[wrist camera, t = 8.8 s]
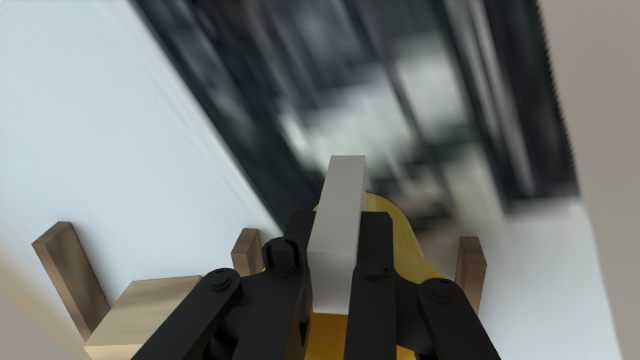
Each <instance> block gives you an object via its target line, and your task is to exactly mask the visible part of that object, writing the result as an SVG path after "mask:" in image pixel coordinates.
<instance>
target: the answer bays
mask: <svg viewBox="0 0 640 360" xmlns="http://www.w3.org/2000/svg"><path fill="white" fill-rule="evenodd" d="M32 246H33V248H34V250H35V252H36V254H37V255H38V257H39V259H40V261H41V263H42V265H43V266H44V268H45V270H46V272H47V274H48V276H49V277H50V279H51V281H52V283H53V285H54V287H55V288H56V290H57V292H58V294H59V296H60V298H61V299H62V301H63V303H64V305H65V307H66V309H67V310H68V312H69V314H70V316H71V318H72V320H73V322H74V323H75V325H76V327H77V329H78V331H79V333H80V334H81V336H82V338H83V340H84V342H85V343H86V341H87V340H88V339H89V337H90V336H91V335H92V333H93V332H94V331H95V329H96V328H97V327H98V325H99V324H100V323H101V322H102V320H103V319H104V318H105V316H106V315H107V314H108V312H109V311H110V310H111V309H110V307H109V305H108V303H107V301H106V299H105V296H104V294H103V292H102V290H101V288H100V286H99V284H98V281H97V279H96V277H95V275H94V273H93V271H92V269H91V266H90V264H89V262H88V260H87V258H86V256H85V254H84V251H83V249H82V247H81V245H80V243H79V241H78V239H77V236H76V234H75V232H74V230H73V228H72V226H71V224H70V222H57V223H56V224H55V225H53V226H52V227H51V228H50V229H49V230H47V231H46V232H45V233H44V234H43V235H41V236H40V237H39V238H38V239H37V240H36V241H34V242H33V243H32ZM231 257H232V262H233V266H234V270H236V271H237V272H238V273H239V275H240V277H244V276H249V275H254V274H257V273H260V272H262V270H263V269H264V264H263V258H262V252H261V247H260V241H259V235H258V230H257V229H243V230H242V232H241V234H240V236H239V238H238V240H237V242H236V244H235V245H234V247H233V249H232V251H231ZM486 267H487V264H486V261H485V258H484V254H483V251H482V248H481V245H480V242H479V239H478V237H462V236H461V239H460V246H459V253H458V260H457V267H456V274H455V281H454V283H456V284H458V285H459V286H460V288H461V289H462V290H463V291H464V293H465V295H466V297H467V299H468V300H469V302H470V304H471V306H472V308H473V309H474V311H475V313H476V315H477V314H478V308H479V303H480V298H481V293H482V288H483V283H484V278H485V272H486Z"/></svg>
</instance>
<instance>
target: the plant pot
mask: <svg viewBox="0 0 640 360" xmlns="http://www.w3.org/2000/svg"><path fill="white" fill-rule="evenodd" d="M318 205H319V204H318ZM318 205H317V206H316V207H315V208H314V209H313V211H317V209H318ZM365 211H375V212H388V214H389V215H390V217H391V218H392V219H393V249H394V267H395V269H396V271H397V273H398V274H399V275H400V276H402V277H403V278H405V279H406V280H409V281H411V282H414V283H417V284H421V283H422V282H423V281H425V280H426V279H430V278H444V277H443V276H442V275H441V274H440V273H439V272H438V271H437V270H436V269H435V268H434V267H433V266H432V265H431V264H430V263H428V262H427V260H426V257H425V255H424V253H423V251H422V249H421V247H420V245H419V243H418V241H417V239H416V237H415V235H414V232H413V230H412V228H411V226H410V224H409V222H408V220H407V218H406V216H405V215H404V214H403V212H402V211H401V210H400V209H399V208H398V207H397V206H396V205H395V204H393V203H392V202H390V201H389V200H387V199H385V198H383V197H381V196H379V195H376V194H373V193H369V192H366V210H365ZM264 270H265V268H264V269H263V270H262V271H264ZM310 318H311V328H310V333H309V339H308V344H307V349H306V354H305V359H304V360H343V357H344V348H345V339H346V329H347V320H348V315H346V314H331V313H316V312H313V305H312V307H311V312H310ZM397 360H416V358H415V356H414V351H411V350H409V349H406V348H403V347H401V346H398V345H397Z"/></svg>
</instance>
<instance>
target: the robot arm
mask: <svg viewBox="0 0 640 360" xmlns="http://www.w3.org/2000/svg"><path fill="white" fill-rule="evenodd" d="M365 210H366V186H365V156H331V159H330V163H329V167H328V171H327V175H326V178H325V182H324V186H323V190H322V194H321V198H320V201H319V205H318V209H317V211H302V210H297V211H296V212H295V213H294V214H293V215H292V216H291V217H290V219H289V222H288V224H287V228H286V230H285V233H284V236H283V237H277V238H274V239H271V240H270V241H268V242H267V243H265V245H264V246H263V247H262V253H263V259H264V264H265V270H264V271H262V272H260V273H257V274H254V275H249V276H244V277H240V275H239V273H238V272H237V271H236V270H234V269H231V268H220V269H216V270H213V271H211V272H209V273H208V274H207V275H205V276H204V277H203V278H202V279H201V280H200V281H199V282H198V284H197V285H196V286H195V287H194V288H193V289H192V290H191V291H190V293H189V294H188V295H187V296H186V297H185V298H184V299H183V300H182V302H181V303H180V304H179V305H178V306H177V307H176V308H175V309H174V311H173V312H172V313H171V314H170V315H169V316H168V317H167V319H166V320H165V321H164V322H163V323H162V324H161V325H160V326H159V328H158V329H157V330H156V331H155V332H154V333H153V334H152V335H151V337H150V338H149V339H148V340H147V341H146V342H145V343H144V344H143V346H142V347H141V348H140V349H139V350H138V351H137V352H136V353H135V355H134V356H133V357H132V358H131V359H130V360H304V359H305V354H306V349H307V344H308V339H309V333H310V328H311V318H310V312H311V307H312V305H313V312H316V313H331V314H346V315H348V320H347V329H346V339H345V348H344V357H343V360H397V345H398V346H401V347H403V348H406V349H409V350H411V351H414V356H415V358H416V360H501V358H500V356H499V355H498V353H497V351H496V349H495V347H494V346H493V344H492V342H491V340H490V338H489V337H488V335H487V333H486V331H485V329H484V327H483V326H482V324H481V322H480V320H479V318H478V317H477V315H476V313H475V311H474V309H473V308H472V306H471V304H470V302H469V300H468V299H467V297H466V295H465V293H464V291H463V290H462V289H461V288H460V286H459V285H458V284H456V283H454V282H453V281H451V280H448V279H445V278H430V279H426V280H425V281H423V282H422V283H421V284H417V283H414V282H411V281H409V280H406V279H405V278H403V277H402V276H400V275H399V274H398V273H397V271H396V269H395V267H394V249H393V219H392V218H391V217H390V215H389V214H388V212H375V211H365Z"/></svg>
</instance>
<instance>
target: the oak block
mask: <svg viewBox="0 0 640 360" xmlns="http://www.w3.org/2000/svg"><path fill="white" fill-rule="evenodd" d="M201 279H202V277H201V275H197V276H185V277H174V278H162V279H151V280H140V281H132V282H131V283H130V284H129V286H128V287H127V288H126V290H125V291H124V292H123V294H122V295H121V296H120V298H119V299H118V300H117V302H116V303H115V304H114V306H113V307H112V308H111V310H110V311H109V312H108V314H107V315H106V316H105V318H104V319H103V320H102V322H101V323H100V324H99V325H98V327H97V328H96V329H95V331H94V332H93V333H92V335H91V336H90V337H89V339H88V340H87V341H86V343H85V344H84V345H83V348H84V349H85V351H86V352H87V353H88V354H89V356H90V357H91V358H92V360H130V359H131V358H132V357H133V356H134V355H135V353H136V352H137V351H138V350H139V349H140V348H141V347H142V346H143V344H144V343H145V342H146V341H147V340H148V339H149V338H150V337H151V335H152V334H153V333H154V332H155V331H156V330H157V329H158V328H159V326H160V325H161V324H162V323H163V322H164V321H165V320H166V319H167V317H168V316H169V315H170V314H171V313H172V312H173V311H174V309H175V308H176V307H177V306H178V305H179V304H180V303H181V302H182V300H183V299H184V298H185V297H186V296H187V295H188V294H189V293H190V291H191V290H192V289H193V288H194V287H195V286H196V285H197V284H198V282H199V281H200V280H201Z"/></svg>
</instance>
